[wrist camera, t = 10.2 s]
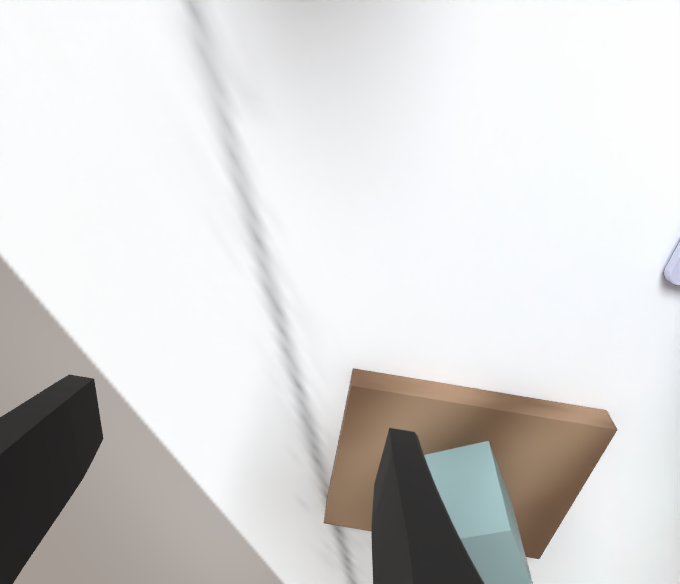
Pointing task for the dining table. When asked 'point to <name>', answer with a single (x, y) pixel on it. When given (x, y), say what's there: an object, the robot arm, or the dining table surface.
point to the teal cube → (481, 511)
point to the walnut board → (466, 429)
